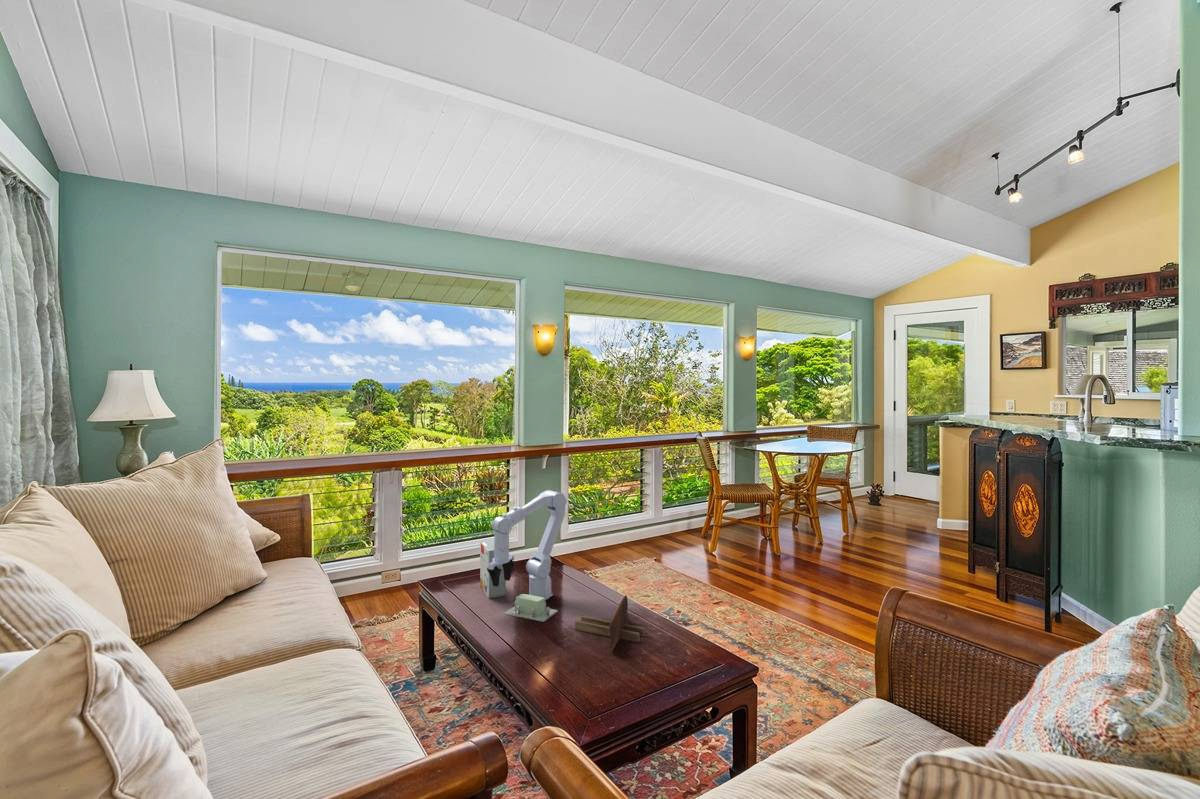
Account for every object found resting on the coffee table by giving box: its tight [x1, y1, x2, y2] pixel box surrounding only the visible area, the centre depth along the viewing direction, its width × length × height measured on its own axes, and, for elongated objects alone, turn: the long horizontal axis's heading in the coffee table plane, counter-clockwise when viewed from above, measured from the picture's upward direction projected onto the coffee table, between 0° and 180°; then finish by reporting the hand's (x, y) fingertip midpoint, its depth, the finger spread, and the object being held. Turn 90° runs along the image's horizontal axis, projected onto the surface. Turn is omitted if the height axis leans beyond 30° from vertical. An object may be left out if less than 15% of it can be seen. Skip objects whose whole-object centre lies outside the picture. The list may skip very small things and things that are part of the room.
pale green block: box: [515, 593, 546, 615], centre depth 210 cm, size 10×4×5 cm, turn 64°
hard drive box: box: [479, 539, 507, 599], centre depth 233 cm, size 16×8×20 cm, turn 25°
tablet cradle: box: [574, 615, 645, 643], centre depth 192 cm, size 6×24×3 cm, turn 64°
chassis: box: [505, 600, 559, 623], centre depth 209 cm, size 17×10×4 cm, turn 64°
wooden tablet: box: [609, 595, 630, 651], centre depth 189 cm, size 26×2×10 cm, turn 166°
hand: (501, 583), depth 214 cm, fingers open, 7 cm apart
